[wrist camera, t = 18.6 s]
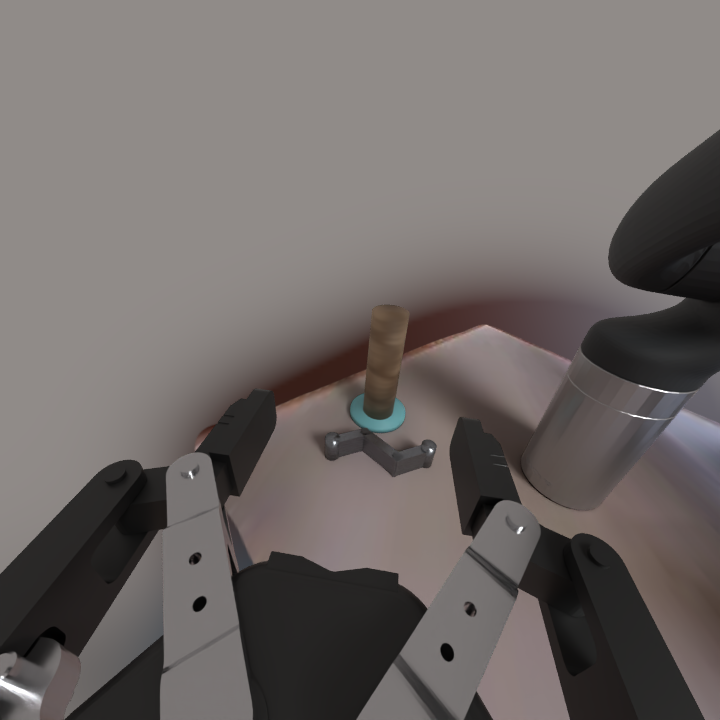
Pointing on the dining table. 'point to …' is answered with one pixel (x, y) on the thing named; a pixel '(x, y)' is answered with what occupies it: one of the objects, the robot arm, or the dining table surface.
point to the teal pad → (374, 424)
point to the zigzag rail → (379, 451)
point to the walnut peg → (384, 359)
